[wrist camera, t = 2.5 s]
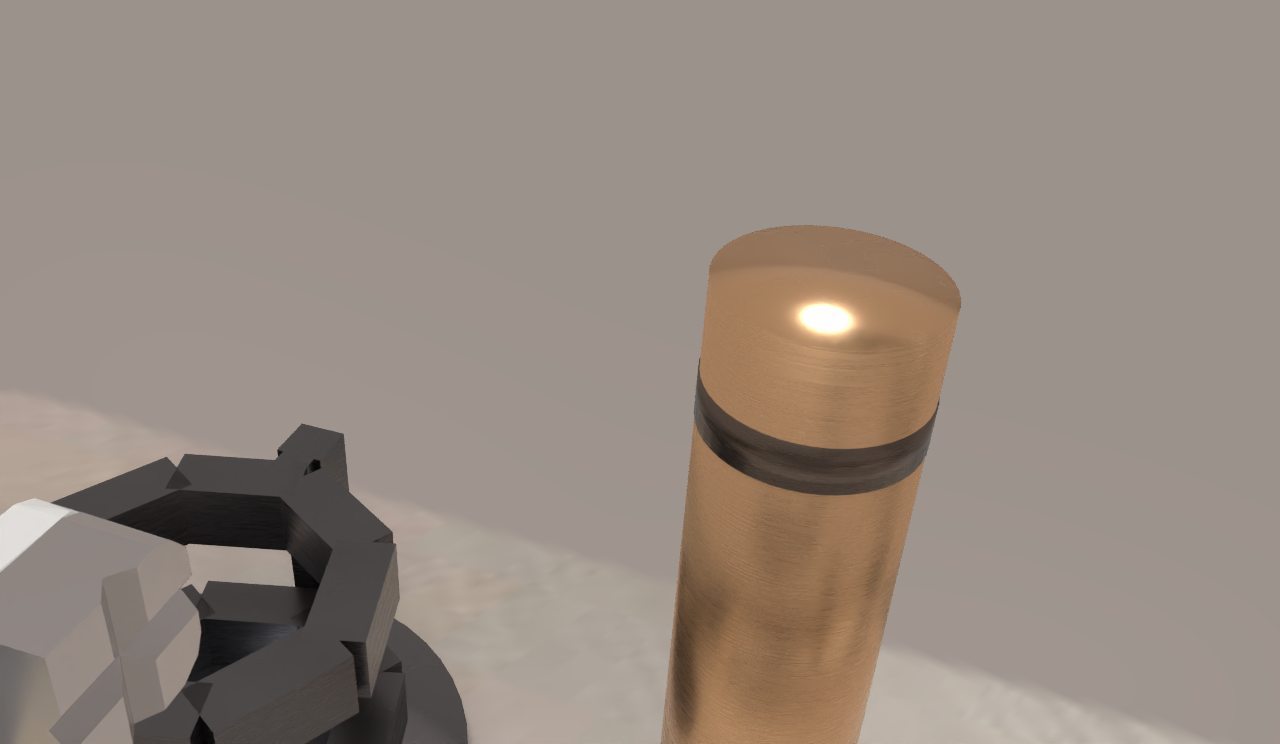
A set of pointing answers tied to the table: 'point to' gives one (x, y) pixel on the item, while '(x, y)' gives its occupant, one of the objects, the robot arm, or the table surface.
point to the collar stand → (287, 605)
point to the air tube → (801, 480)
